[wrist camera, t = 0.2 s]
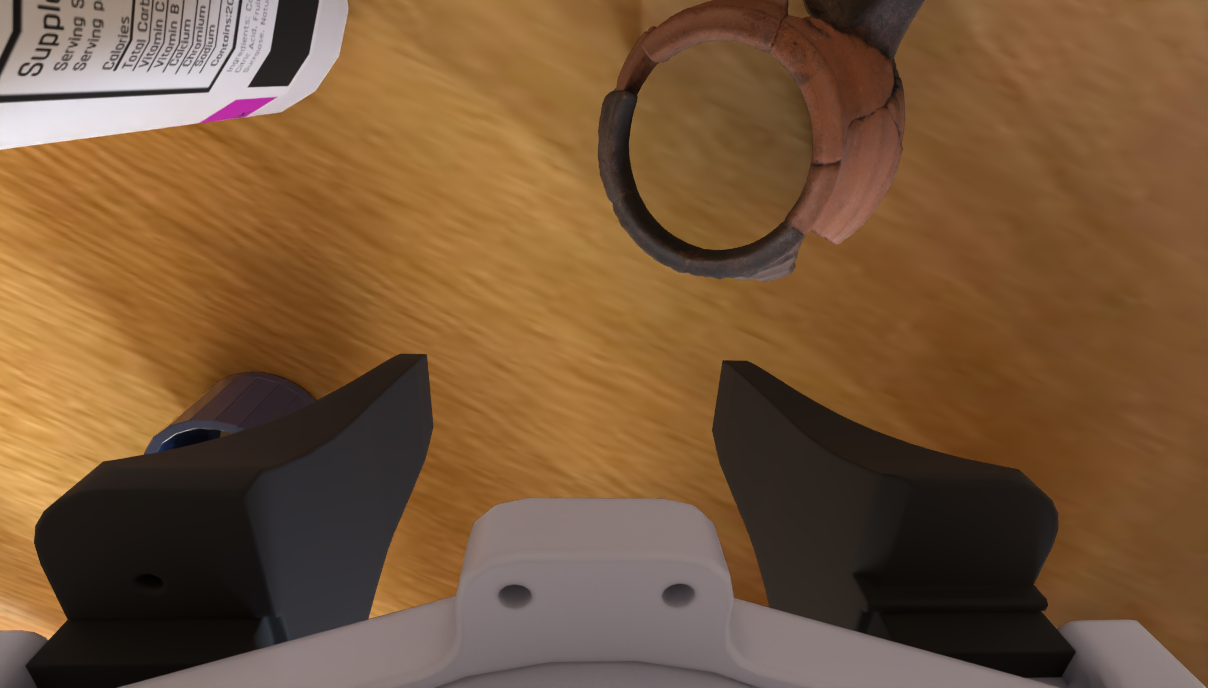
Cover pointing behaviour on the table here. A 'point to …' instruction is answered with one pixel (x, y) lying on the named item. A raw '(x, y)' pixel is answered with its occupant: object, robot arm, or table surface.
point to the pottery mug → (836, 106)
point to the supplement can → (156, 63)
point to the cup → (231, 409)
